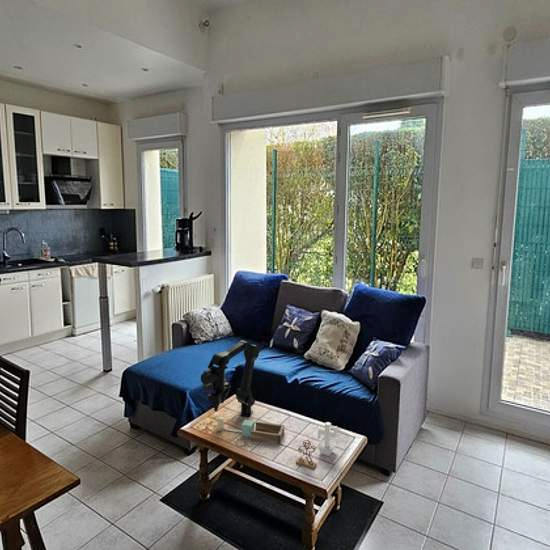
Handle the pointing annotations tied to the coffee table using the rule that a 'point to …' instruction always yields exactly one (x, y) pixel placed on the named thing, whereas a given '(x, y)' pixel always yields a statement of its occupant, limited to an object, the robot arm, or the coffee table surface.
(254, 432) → the open wooden tray
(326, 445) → the figurine
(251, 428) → the block with cord
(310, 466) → the wire sculpture
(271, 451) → the coffee table surface
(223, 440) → the coffee table surface
